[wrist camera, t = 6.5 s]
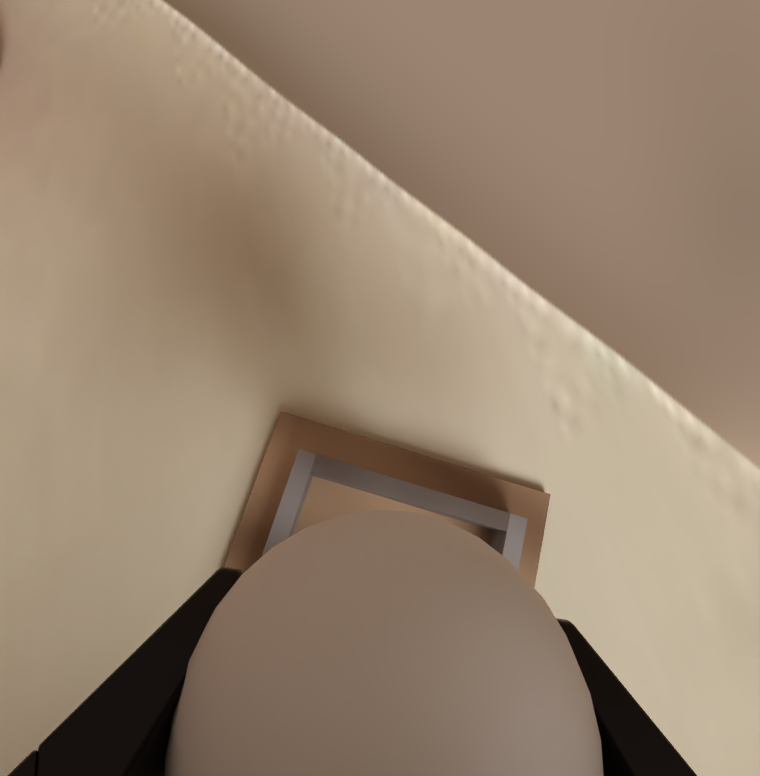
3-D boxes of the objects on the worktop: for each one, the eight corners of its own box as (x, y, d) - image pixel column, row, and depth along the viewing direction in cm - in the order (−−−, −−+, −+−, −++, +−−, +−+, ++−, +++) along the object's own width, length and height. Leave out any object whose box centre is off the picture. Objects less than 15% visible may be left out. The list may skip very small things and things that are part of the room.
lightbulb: (287, 500, 15) (168, 461, 5) (462, 529, 15) (720, 553, 5) (244, 705, 14) (-97, 1371, 3) (442, 734, 14) (776, 1453, 3)
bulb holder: (488, 824, 19) (510, 870, 16) (166, 727, 19) (141, 759, 16) (545, 494, 23) (570, 492, 20) (282, 414, 23) (275, 401, 20)
